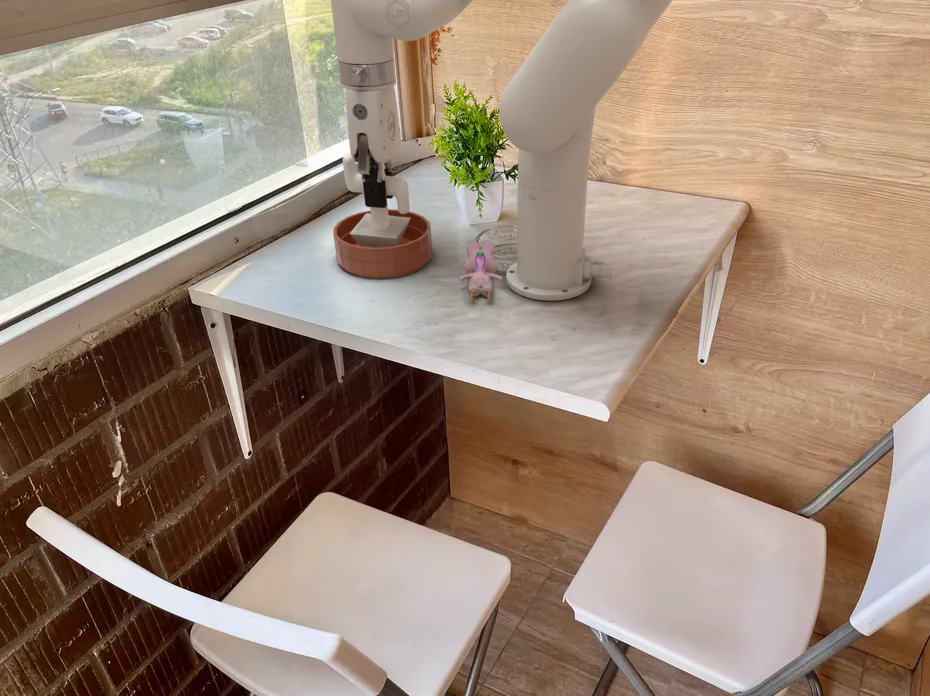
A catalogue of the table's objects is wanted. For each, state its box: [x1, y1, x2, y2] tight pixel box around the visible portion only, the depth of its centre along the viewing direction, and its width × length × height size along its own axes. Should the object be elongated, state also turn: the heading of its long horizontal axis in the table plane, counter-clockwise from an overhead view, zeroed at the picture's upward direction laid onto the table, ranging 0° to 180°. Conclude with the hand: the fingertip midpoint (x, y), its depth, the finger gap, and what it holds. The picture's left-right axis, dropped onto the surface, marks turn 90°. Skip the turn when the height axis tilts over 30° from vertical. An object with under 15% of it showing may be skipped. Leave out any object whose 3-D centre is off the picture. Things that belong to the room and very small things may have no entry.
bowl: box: [332, 208, 433, 279], centre depth 118 cm, size 15×15×5 cm
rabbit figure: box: [458, 239, 503, 303], centre depth 112 cm, size 6×6×15 cm
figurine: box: [342, 152, 410, 248], centre depth 114 cm, size 7×9×15 cm
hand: (379, 201), depth 114 cm, fingers closed on figurine, 2 cm apart
